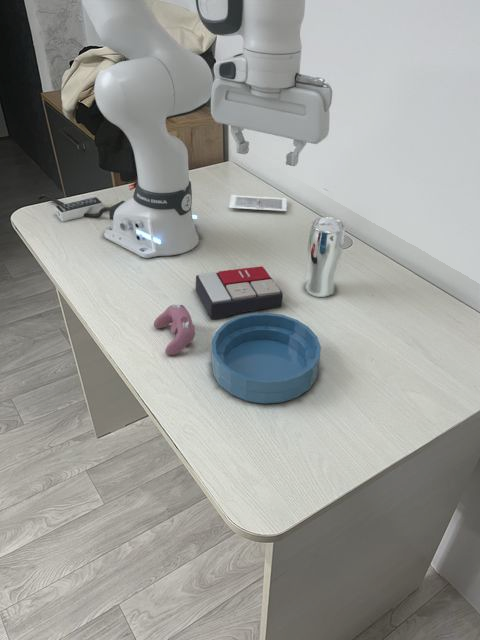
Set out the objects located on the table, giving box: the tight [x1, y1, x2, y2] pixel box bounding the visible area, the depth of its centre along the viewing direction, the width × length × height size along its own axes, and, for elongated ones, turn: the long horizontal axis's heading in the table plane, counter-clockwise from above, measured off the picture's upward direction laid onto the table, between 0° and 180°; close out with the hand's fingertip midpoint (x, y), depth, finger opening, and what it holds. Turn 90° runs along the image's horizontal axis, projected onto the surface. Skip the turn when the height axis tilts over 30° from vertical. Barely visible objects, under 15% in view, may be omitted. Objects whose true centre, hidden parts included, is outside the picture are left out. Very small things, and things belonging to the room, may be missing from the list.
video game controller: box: [153, 303, 196, 356], centre depth 98 cm, size 10×5×7 cm, turn 23°
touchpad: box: [228, 194, 288, 212], centre depth 143 cm, size 8×15×2 cm, turn 88°
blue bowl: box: [211, 312, 322, 404], centre depth 93 cm, size 18×18×5 cm
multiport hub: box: [54, 196, 105, 222], centre depth 136 cm, size 4×11×2 cm, turn 127°
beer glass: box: [305, 216, 346, 298], centre depth 110 cm, size 7×7×15 cm
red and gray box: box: [195, 265, 284, 320], centre depth 109 cm, size 11×4×15 cm
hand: (266, 158), depth 92 cm, fingers open, 8 cm apart
